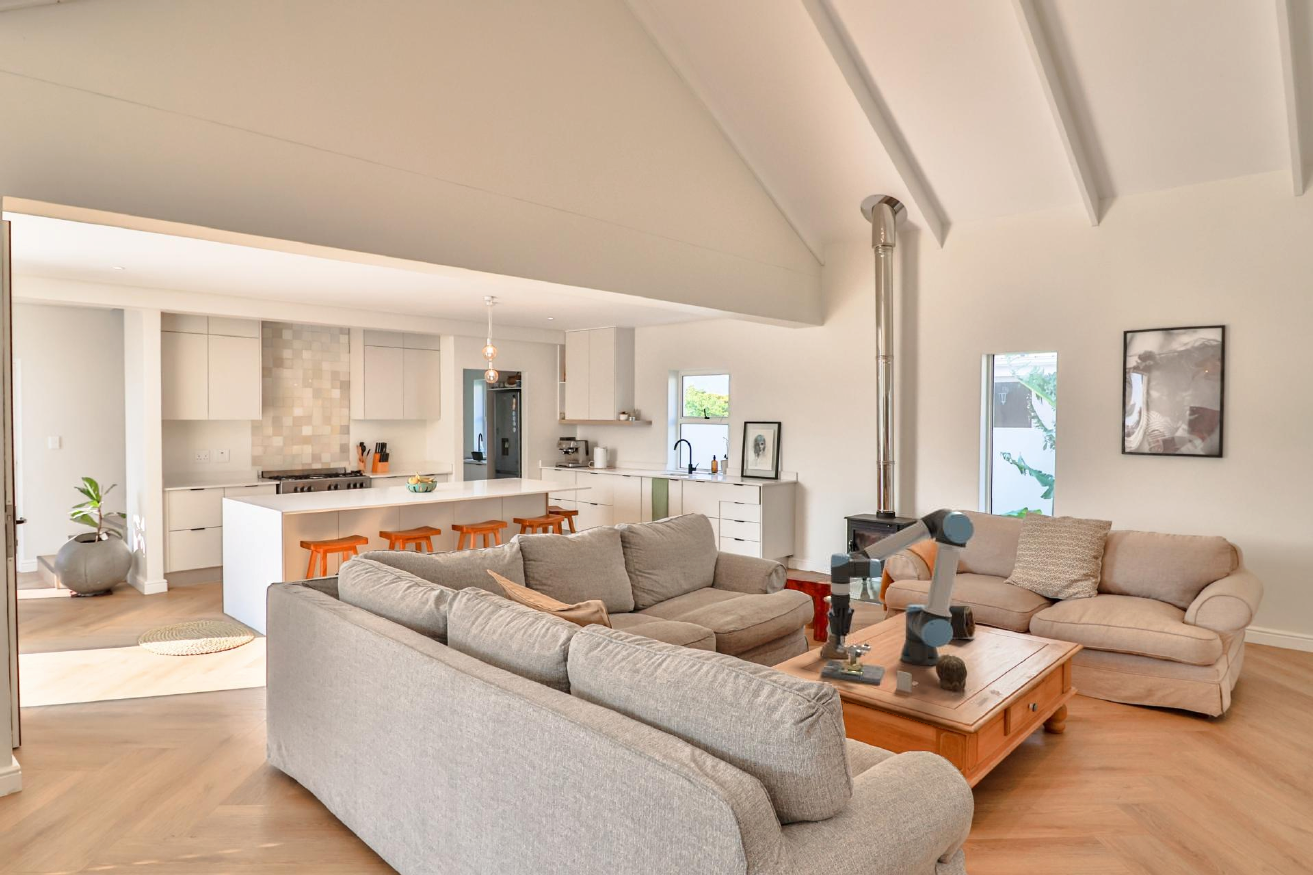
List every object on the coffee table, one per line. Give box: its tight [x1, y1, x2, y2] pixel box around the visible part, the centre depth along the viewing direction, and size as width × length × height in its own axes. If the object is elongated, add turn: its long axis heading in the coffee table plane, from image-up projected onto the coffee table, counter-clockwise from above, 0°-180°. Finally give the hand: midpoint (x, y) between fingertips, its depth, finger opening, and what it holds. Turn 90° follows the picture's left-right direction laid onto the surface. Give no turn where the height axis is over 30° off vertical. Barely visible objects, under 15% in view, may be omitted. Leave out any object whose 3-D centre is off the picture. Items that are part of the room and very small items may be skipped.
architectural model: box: [896, 670, 919, 693], centre depth 290 cm, size 3×7×7 cm, turn 47°
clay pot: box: [949, 605, 976, 640], centre depth 366 cm, size 15×15×25 cm
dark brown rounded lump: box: [935, 653, 968, 693], centre depth 293 cm, size 11×11×12 cm
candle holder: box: [821, 595, 850, 660], centre depth 334 cm, size 11×11×24 cm
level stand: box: [820, 659, 885, 686], centre depth 308 cm, size 22×16×4 cm
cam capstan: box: [833, 643, 871, 672], centre depth 308 cm, size 14×14×9 cm
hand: (840, 651), depth 312 cm, fingers closed
